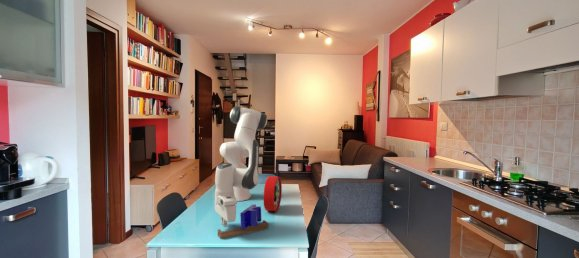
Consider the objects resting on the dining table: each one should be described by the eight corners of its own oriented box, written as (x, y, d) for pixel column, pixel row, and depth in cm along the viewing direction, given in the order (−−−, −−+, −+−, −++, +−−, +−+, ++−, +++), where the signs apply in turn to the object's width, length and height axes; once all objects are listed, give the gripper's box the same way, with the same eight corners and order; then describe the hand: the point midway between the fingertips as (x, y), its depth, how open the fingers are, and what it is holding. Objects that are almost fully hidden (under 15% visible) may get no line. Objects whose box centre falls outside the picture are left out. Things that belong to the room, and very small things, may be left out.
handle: (217, 236, 129) (217, 227, 129) (264, 226, 142) (264, 218, 142) (220, 239, 125) (220, 230, 125) (268, 228, 138) (268, 220, 138)
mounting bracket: (241, 228, 130) (253, 228, 129) (240, 213, 130) (252, 213, 129) (253, 218, 148) (264, 218, 146) (252, 204, 148) (263, 204, 147)
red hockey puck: (273, 216, 157) (273, 180, 156) (263, 215, 158) (263, 179, 157) (281, 205, 176) (281, 173, 176) (272, 204, 178) (272, 173, 177)
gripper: (211, 193, 142) (211, 220, 143) (225, 203, 125) (225, 234, 126) (223, 191, 146) (223, 218, 146) (238, 201, 129) (238, 231, 129)
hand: (224, 225), depth 136 cm, fingers closed
